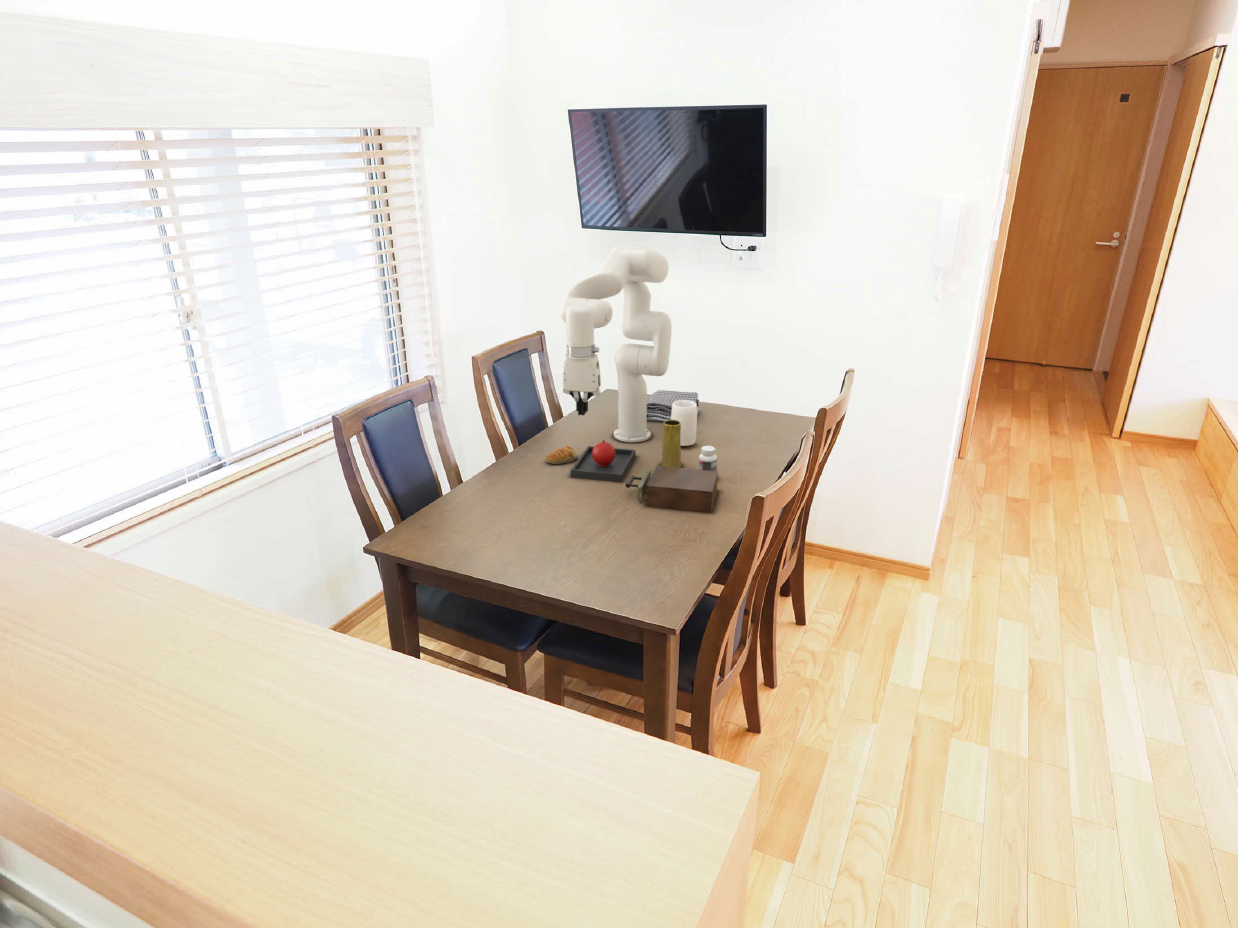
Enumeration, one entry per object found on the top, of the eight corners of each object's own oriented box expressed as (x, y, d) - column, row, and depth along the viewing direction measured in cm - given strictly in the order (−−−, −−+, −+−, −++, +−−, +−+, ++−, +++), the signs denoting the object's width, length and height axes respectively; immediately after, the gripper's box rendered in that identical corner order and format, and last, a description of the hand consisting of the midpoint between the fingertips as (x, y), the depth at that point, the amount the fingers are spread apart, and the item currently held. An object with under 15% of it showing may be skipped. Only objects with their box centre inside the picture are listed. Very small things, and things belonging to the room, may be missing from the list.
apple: (595, 458, 245) (595, 435, 242) (618, 460, 244) (617, 436, 241) (589, 467, 239) (589, 443, 236) (612, 470, 237) (612, 445, 234)
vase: (675, 471, 238) (676, 427, 232) (657, 467, 241) (658, 423, 235) (684, 464, 243) (685, 421, 237) (667, 460, 246) (668, 417, 240)
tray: (588, 452, 252) (587, 445, 251) (635, 456, 249) (635, 449, 248) (570, 477, 235) (570, 470, 234) (621, 481, 231) (621, 474, 230)
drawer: (622, 499, 218) (622, 485, 216) (632, 481, 229) (632, 467, 228) (697, 507, 214) (697, 492, 212) (703, 487, 225) (703, 473, 223)
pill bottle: (694, 479, 233) (695, 448, 229) (704, 473, 237) (705, 443, 233) (709, 483, 230) (710, 453, 226) (719, 478, 233) (721, 447, 230)
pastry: (553, 467, 241) (553, 456, 240) (541, 461, 246) (541, 449, 244) (578, 460, 246) (578, 448, 245) (566, 453, 251) (565, 442, 250)
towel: (652, 407, 292) (652, 387, 289) (701, 412, 287) (702, 391, 284) (642, 421, 278) (642, 400, 275) (693, 426, 274) (693, 404, 271)
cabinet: (646, 506, 217) (646, 485, 214) (655, 485, 229) (656, 465, 226) (711, 512, 213) (712, 491, 210) (716, 491, 225) (717, 471, 223)
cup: (701, 444, 258) (703, 403, 252) (685, 451, 252) (686, 410, 247) (681, 438, 263) (682, 397, 258) (665, 445, 258) (665, 404, 252)
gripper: (610, 348, 217) (611, 411, 224) (558, 345, 220) (560, 407, 227) (603, 356, 210) (604, 420, 217) (550, 353, 213) (553, 416, 220)
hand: (582, 413), depth 222 cm, fingers closed
